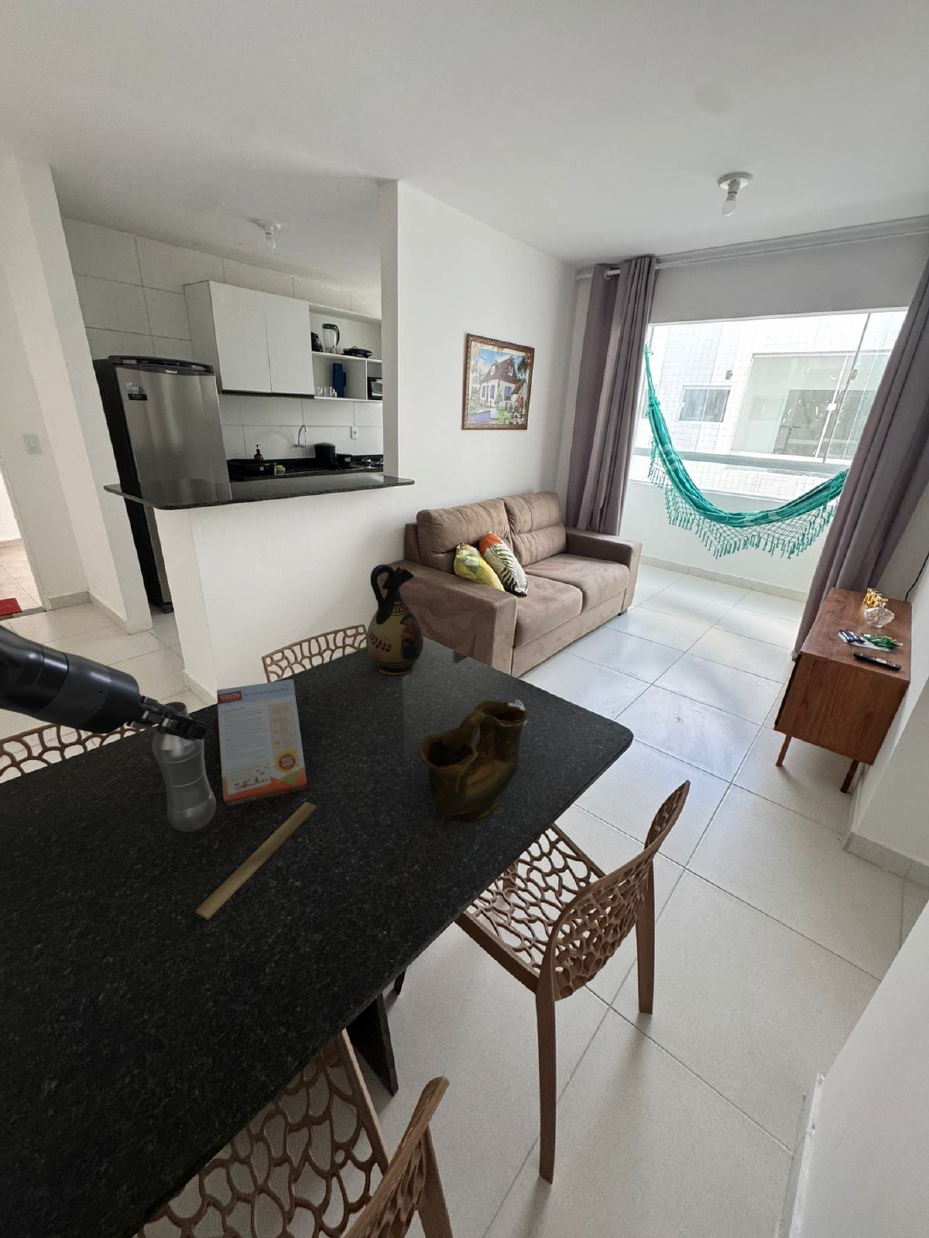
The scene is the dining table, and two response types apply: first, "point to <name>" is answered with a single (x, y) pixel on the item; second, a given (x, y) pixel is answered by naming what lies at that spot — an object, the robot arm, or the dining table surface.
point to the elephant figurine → (518, 704)
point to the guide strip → (254, 862)
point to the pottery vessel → (474, 760)
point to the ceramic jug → (393, 625)
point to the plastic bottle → (184, 778)
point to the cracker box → (260, 741)
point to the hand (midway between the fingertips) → (187, 725)
